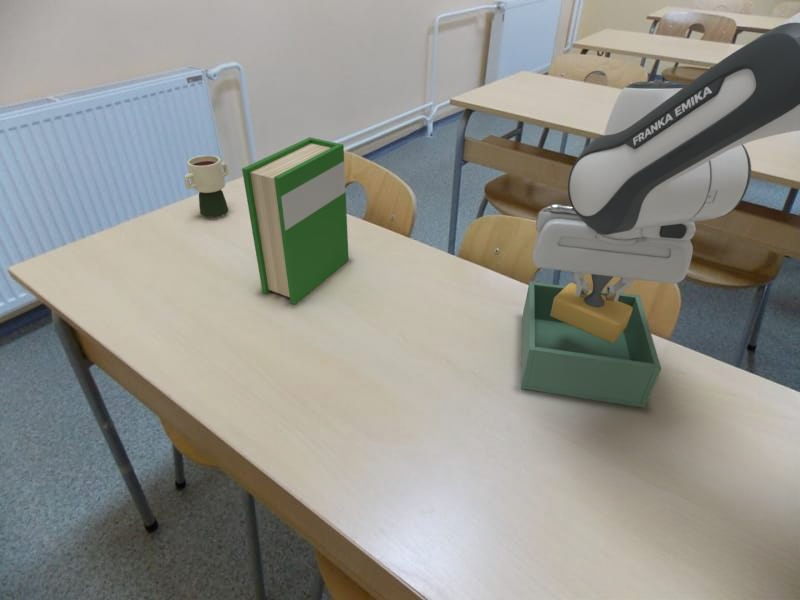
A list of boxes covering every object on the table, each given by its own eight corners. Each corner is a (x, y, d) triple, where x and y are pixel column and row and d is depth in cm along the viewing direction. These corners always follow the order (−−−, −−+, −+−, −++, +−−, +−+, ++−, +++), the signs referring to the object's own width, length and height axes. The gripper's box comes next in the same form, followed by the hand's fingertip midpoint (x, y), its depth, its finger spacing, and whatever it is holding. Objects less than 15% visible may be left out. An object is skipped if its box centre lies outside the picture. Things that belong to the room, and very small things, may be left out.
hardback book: (294, 304, 93) (278, 178, 79) (262, 292, 96) (242, 168, 82) (348, 260, 106) (343, 144, 92) (319, 251, 108) (309, 137, 94)
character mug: (224, 202, 126) (214, 150, 119) (243, 210, 123) (234, 157, 115) (185, 217, 119) (172, 163, 112) (204, 227, 116) (191, 171, 108)
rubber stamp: (627, 326, 78) (651, 257, 71) (612, 345, 74) (636, 274, 67) (565, 300, 83) (582, 233, 76) (548, 316, 79) (565, 248, 72)
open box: (626, 332, 89) (639, 295, 84) (644, 408, 75) (661, 368, 70) (522, 318, 91) (529, 281, 87) (520, 388, 77) (529, 349, 73)
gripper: (540, 212, 67) (523, 300, 75) (710, 230, 64) (673, 319, 72) (539, 193, 72) (523, 276, 80) (697, 208, 69) (663, 293, 77)
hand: (595, 297), depth 76 cm, fingers closed on rubber stamp, 3 cm apart
